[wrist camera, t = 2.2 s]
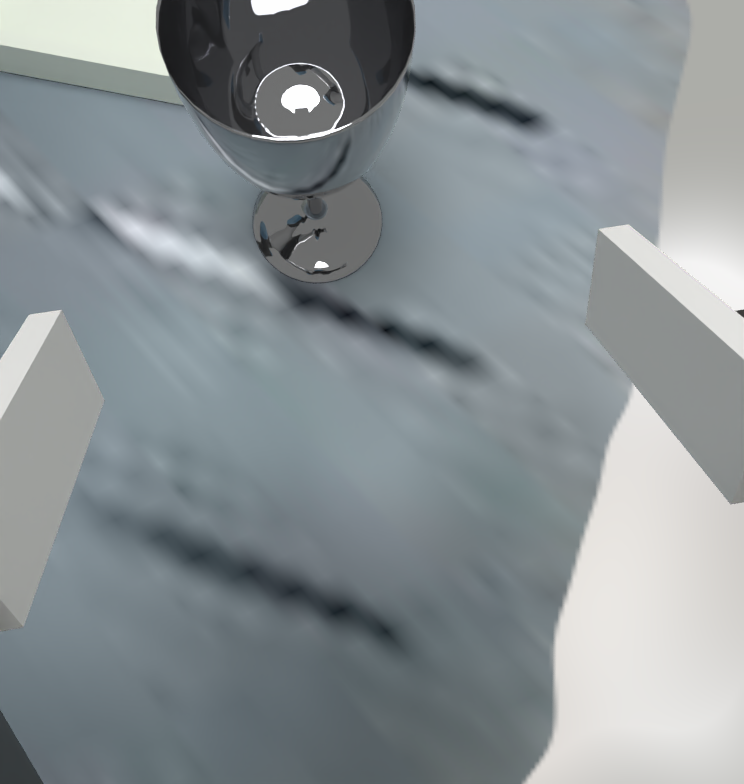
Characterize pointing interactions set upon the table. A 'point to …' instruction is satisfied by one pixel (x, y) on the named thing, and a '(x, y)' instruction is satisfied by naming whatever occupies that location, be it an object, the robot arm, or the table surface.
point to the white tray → (86, 45)
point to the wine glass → (296, 113)
